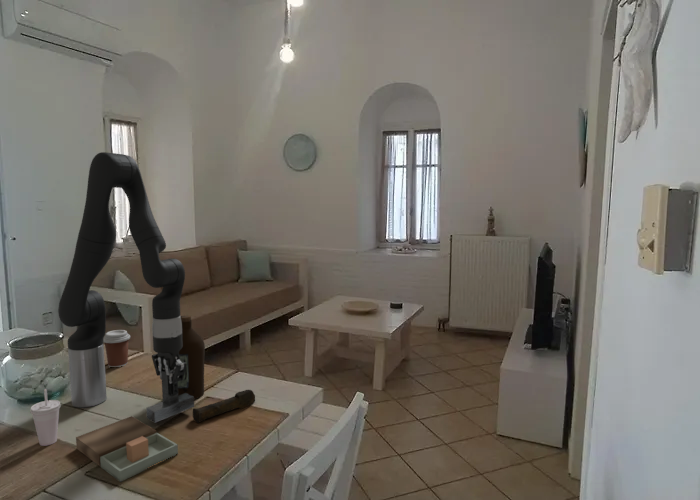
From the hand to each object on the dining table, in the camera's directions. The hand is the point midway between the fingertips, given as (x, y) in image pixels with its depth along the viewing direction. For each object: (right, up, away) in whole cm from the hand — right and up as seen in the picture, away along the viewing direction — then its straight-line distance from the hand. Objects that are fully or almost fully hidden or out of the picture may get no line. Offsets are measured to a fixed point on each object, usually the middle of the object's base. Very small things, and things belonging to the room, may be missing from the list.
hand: (170, 393), depth 131 cm
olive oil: (-1, -6, +16) cm, 17 cm away
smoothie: (-26, -9, -12) cm, 30 cm away
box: (0, -10, -20) cm, 22 cm away
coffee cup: (-34, -2, +41) cm, 54 cm away
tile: (-1, -7, -18) cm, 20 cm away
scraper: (0, -6, +1) cm, 6 cm away
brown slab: (-8, -9, -13) cm, 18 cm away
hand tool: (+14, -7, +6) cm, 17 cm away
